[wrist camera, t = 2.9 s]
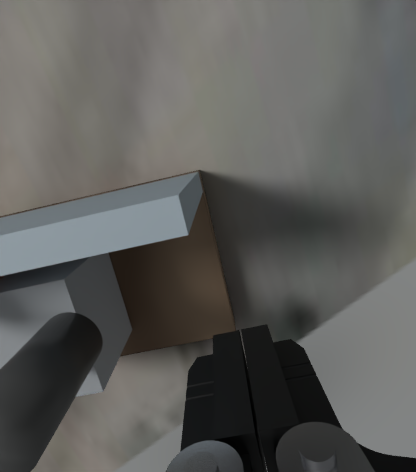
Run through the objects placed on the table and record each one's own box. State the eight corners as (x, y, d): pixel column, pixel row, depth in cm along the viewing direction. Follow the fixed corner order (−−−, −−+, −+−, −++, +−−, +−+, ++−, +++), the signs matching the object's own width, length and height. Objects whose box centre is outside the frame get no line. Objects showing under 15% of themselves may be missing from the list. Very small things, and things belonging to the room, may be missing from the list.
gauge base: (199, 169, 18) (198, 171, 17) (234, 320, 20) (236, 333, 19) (-153, 252, 20) (-182, 260, 18) (-88, 383, 22) (-109, 400, 21)
